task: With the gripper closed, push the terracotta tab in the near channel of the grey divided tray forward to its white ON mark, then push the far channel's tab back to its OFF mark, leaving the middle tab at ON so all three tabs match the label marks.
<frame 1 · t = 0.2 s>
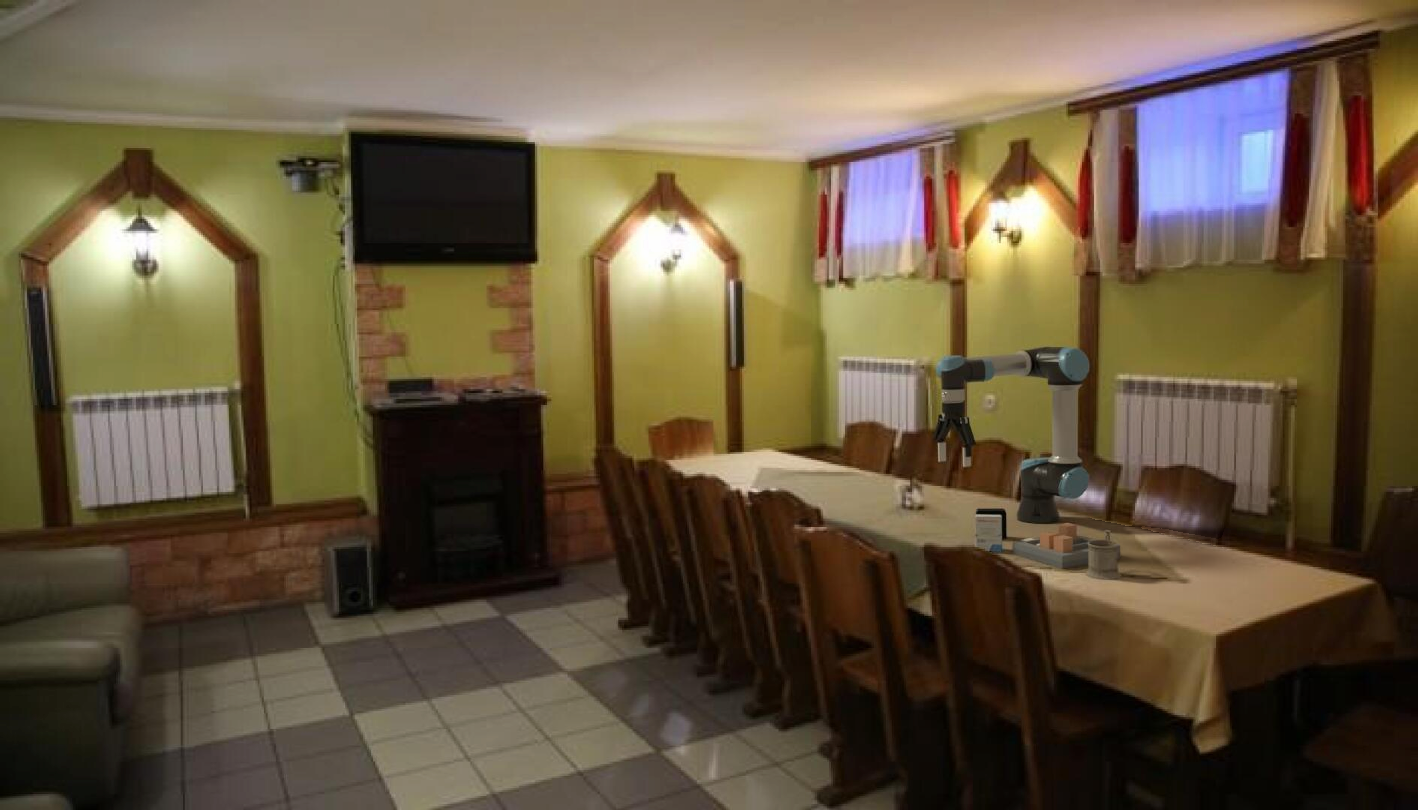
hand: (954, 463, 336), 28 cm above the table, fingers open, 13 cm apart
tab b: (1049, 542, 314), point 5 cm above the table, slide at 13.4 cm
grey divided tray: (1065, 555, 318), on the table
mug: (1104, 573, 297), on the table
ink box: (988, 550, 329), on the table
tab c: (1063, 546, 309), point 5 cm above the table, slide at 13.4 cm
tab a: (1067, 533, 325), point 5 cm above the table, slide at 0.0 cm
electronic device: (991, 538, 346), on the table
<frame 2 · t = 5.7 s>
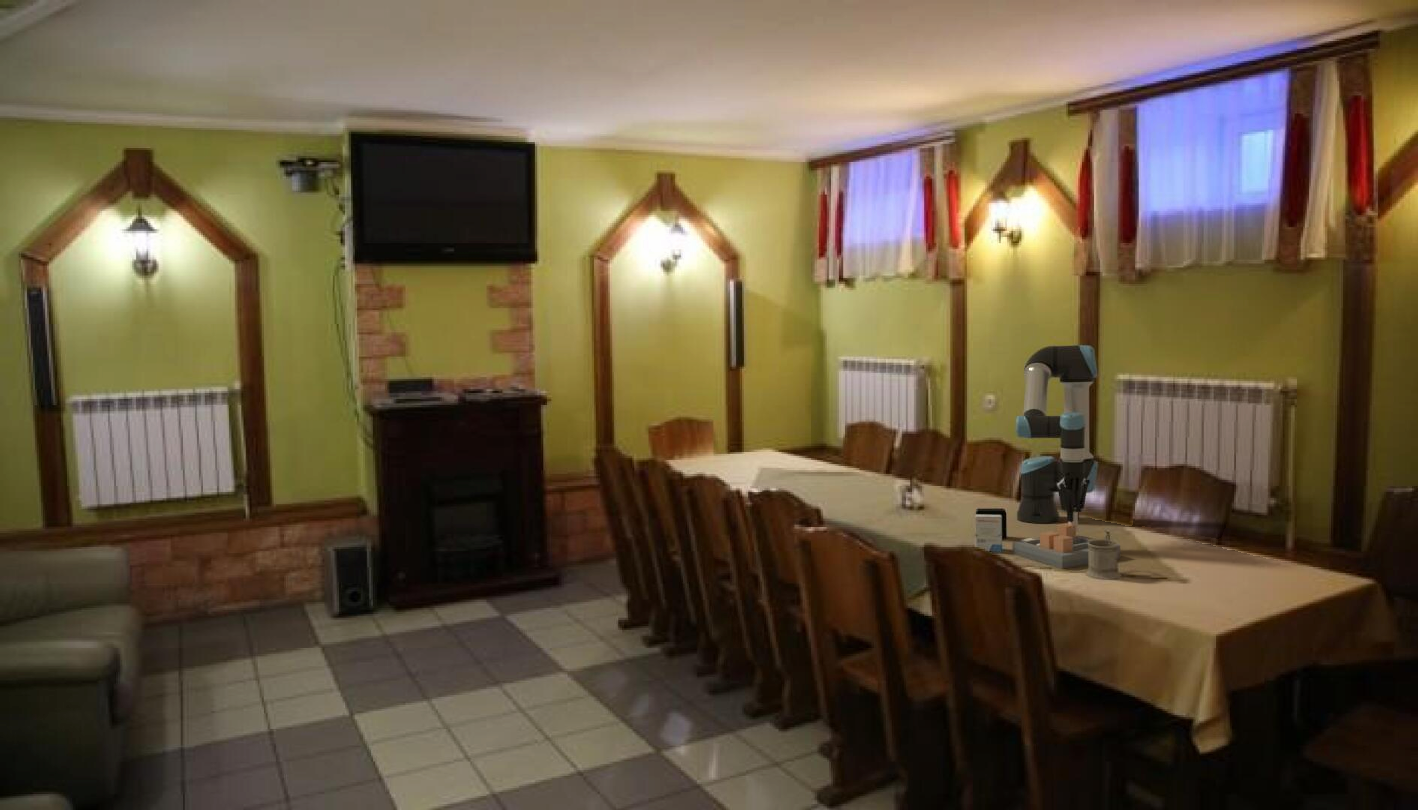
hand: (1073, 530, 326), 6 cm above the table, fingers closed
tab a: (1066, 533, 325), point 5 cm above the table, slide at 0.5 cm, touching gripper
everything else where it was.
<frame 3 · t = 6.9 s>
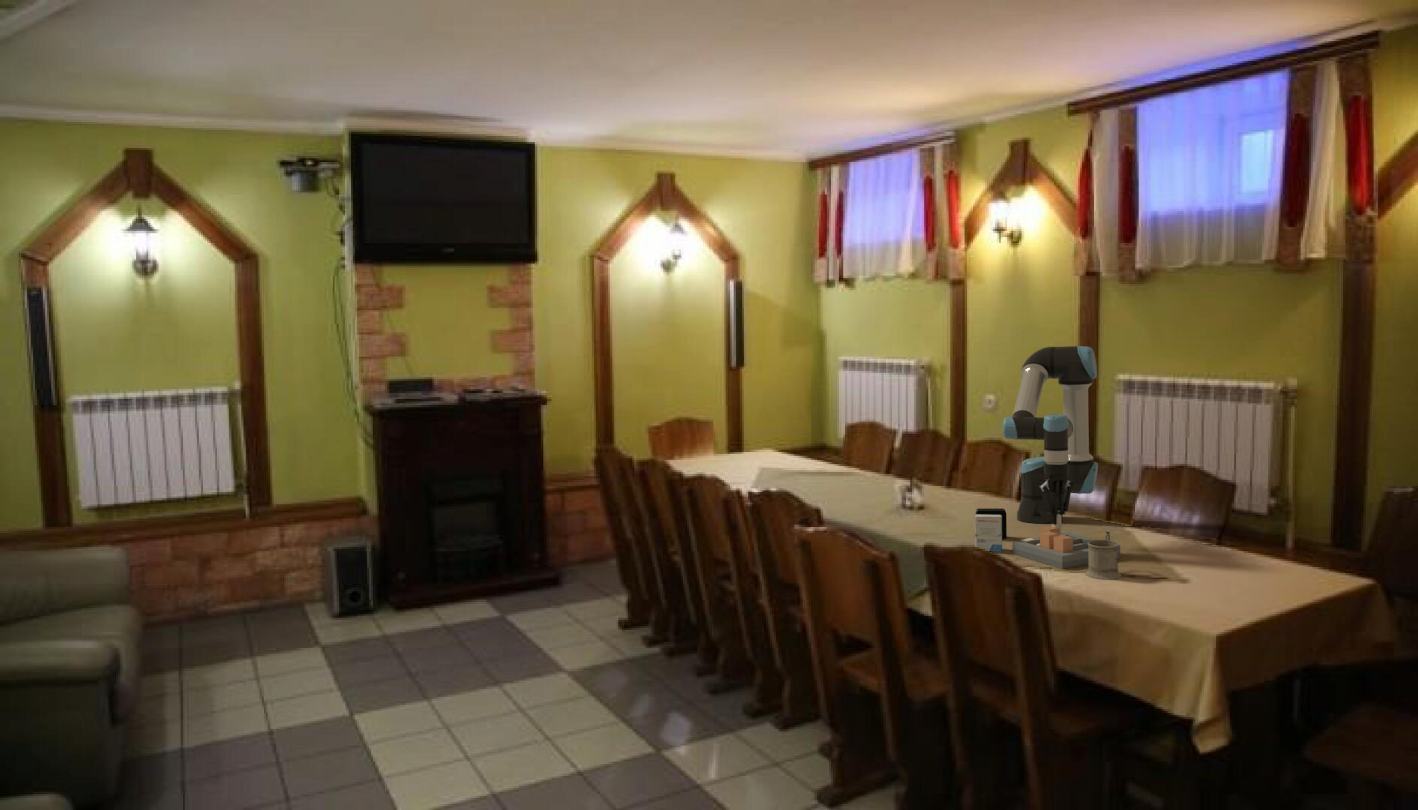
hand: (1056, 533, 323), 6 cm above the table, fingers closed
tab a: (1050, 536, 322), point 5 cm above the table, slide at 7.4 cm, touching gripper
everything else where it was.
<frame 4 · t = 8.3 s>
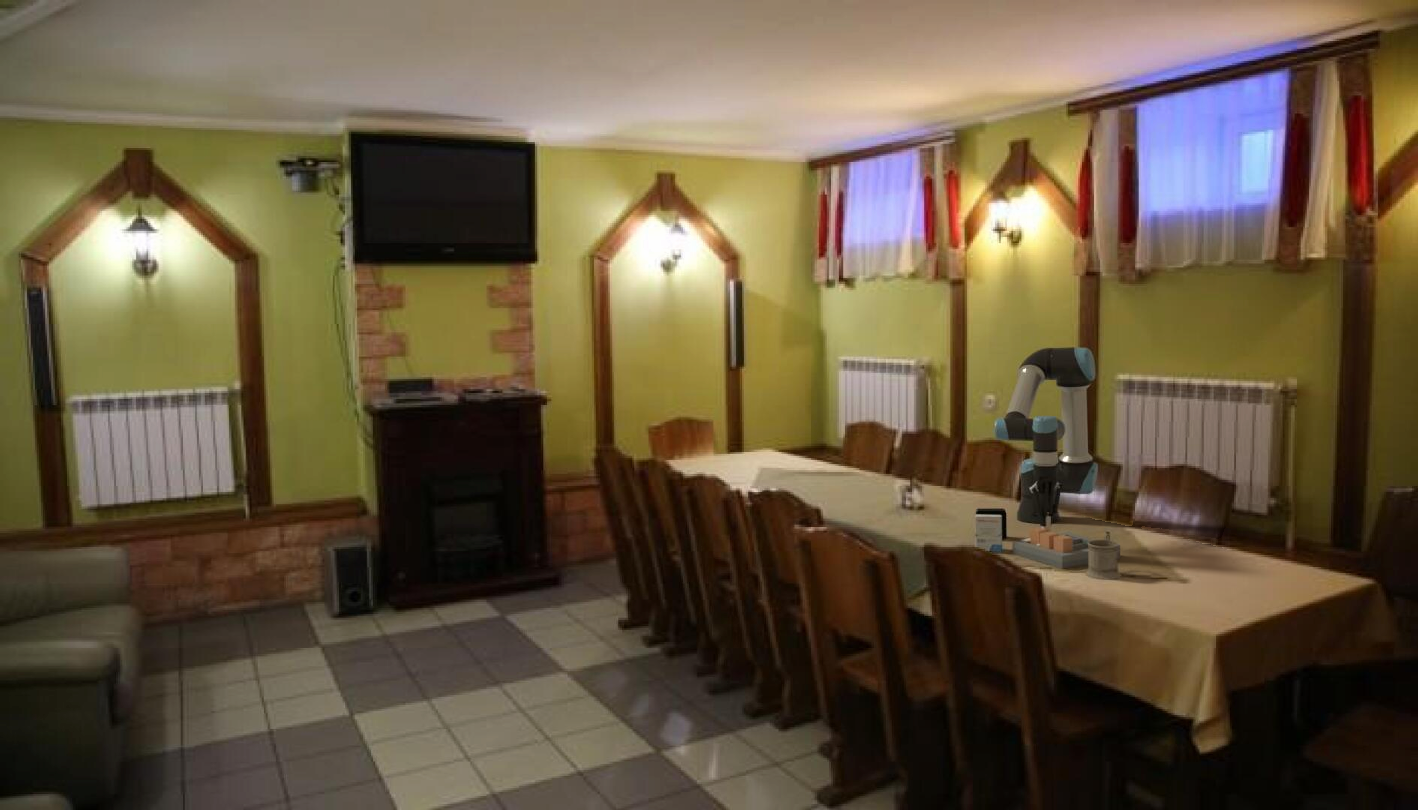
hand: (1046, 535, 321), 6 cm above the table, fingers closed
tab a: (1039, 538, 320), point 5 cm above the table, slide at 11.9 cm, touching gripper
everything else where it was.
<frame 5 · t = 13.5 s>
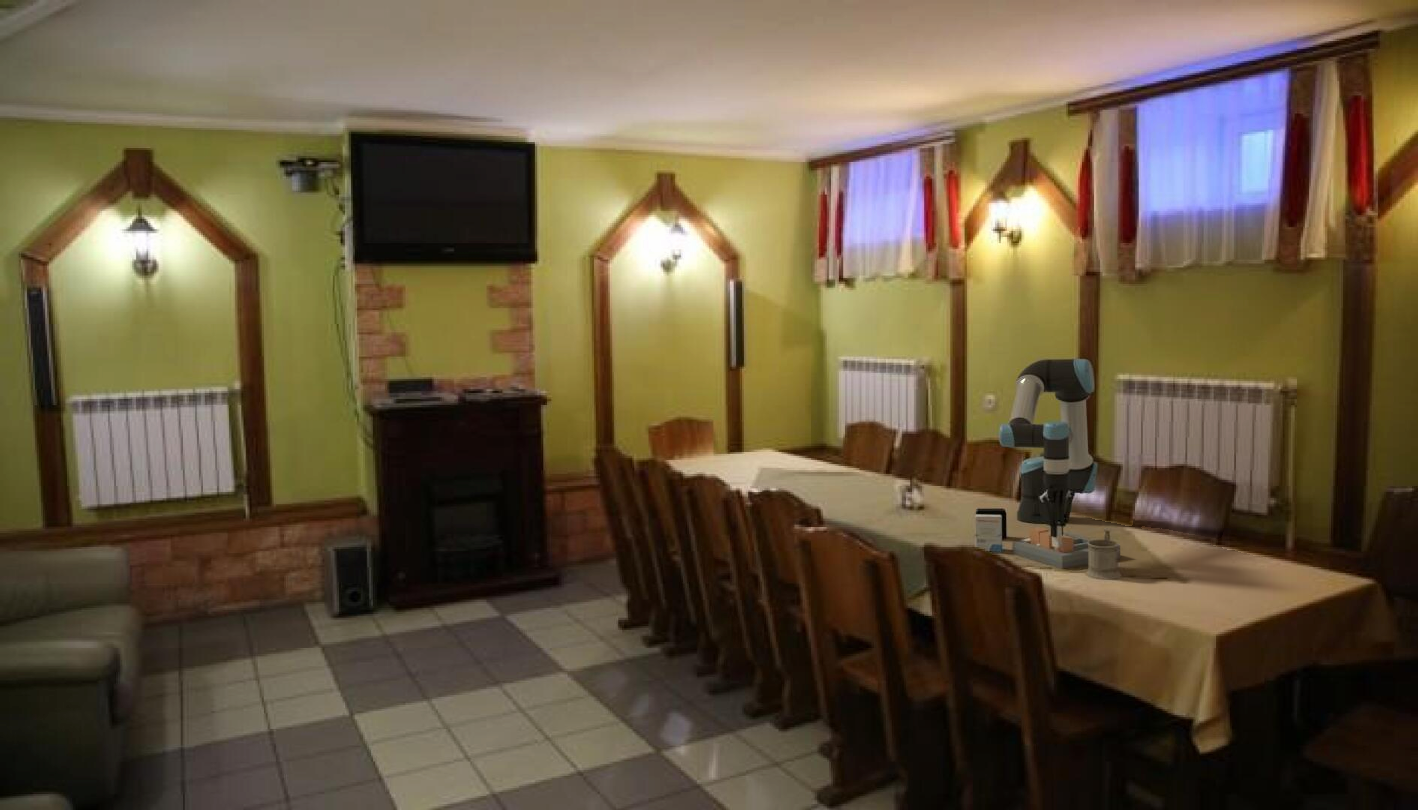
hand: (1056, 546, 308), 6 cm above the table, fingers closed
tab c: (1063, 546, 309), point 5 cm above the table, slide at 13.2 cm, touching gripper
tab a: (1039, 538, 320), point 5 cm above the table, slide at 11.9 cm
everything else where it was.
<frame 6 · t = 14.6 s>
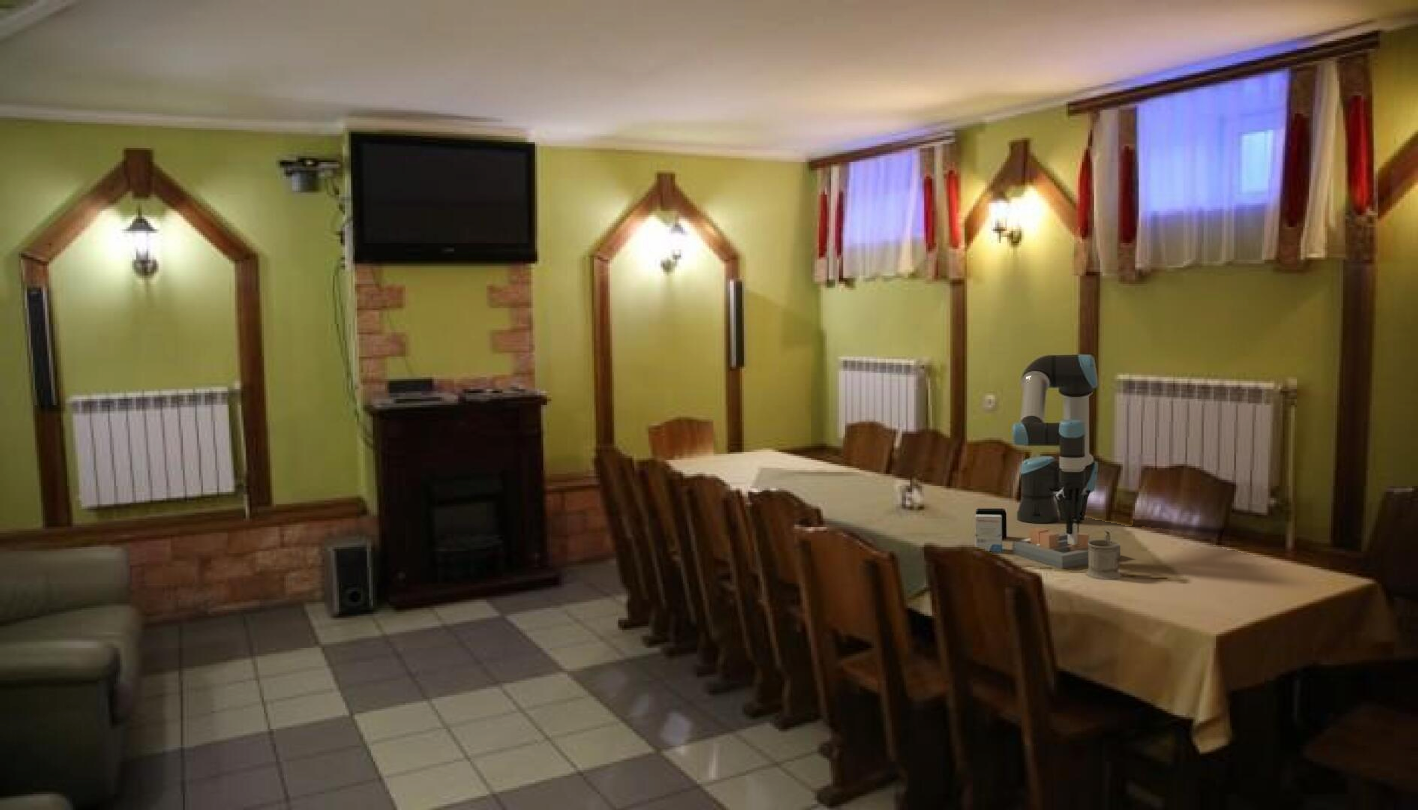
hand: (1072, 543, 311), 6 cm above the table, fingers closed
tab c: (1079, 543, 312), point 5 cm above the table, slide at 6.7 cm, touching gripper
everything else where it was.
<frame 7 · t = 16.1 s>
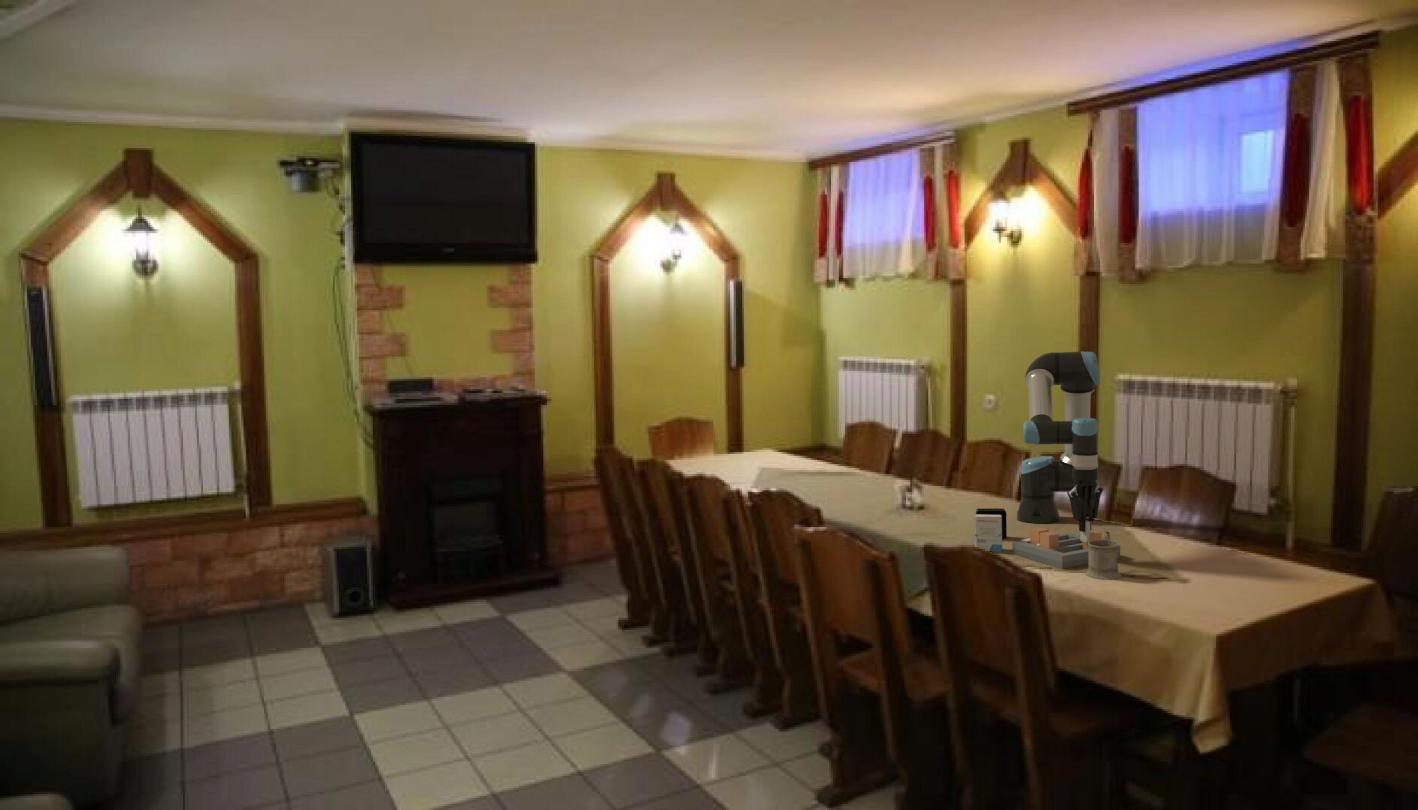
hand: (1085, 541, 313), 6 cm above the table, fingers closed
tab c: (1091, 541, 314), point 5 cm above the table, slide at 1.5 cm, touching gripper
everything else where it was.
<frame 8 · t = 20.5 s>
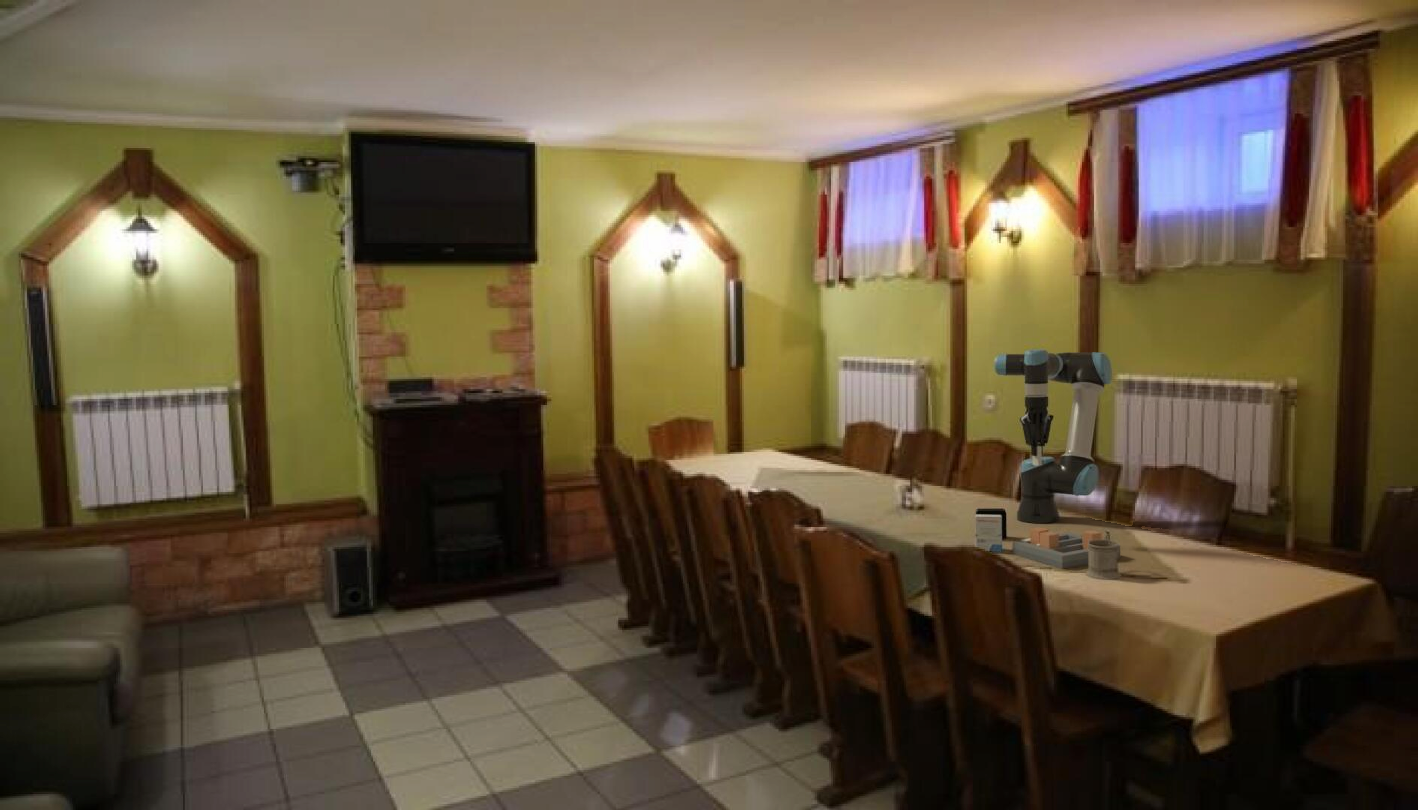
hand: (1037, 465, 335), 26 cm above the table, fingers closed
tab c: (1091, 541, 314), point 5 cm above the table, slide at 1.5 cm
everything else where it was.
at the end: tab a slide at 11.9 cm; tab c slide at 1.5 cm; tab b slide at 13.4 cm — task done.
